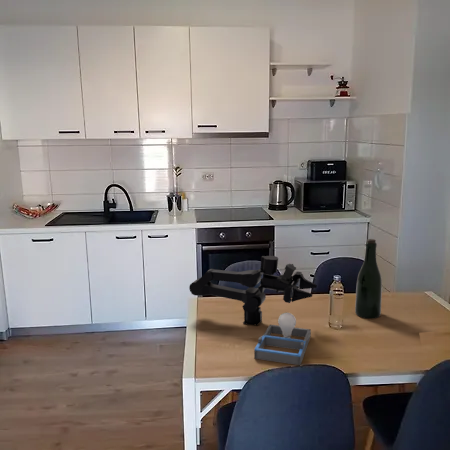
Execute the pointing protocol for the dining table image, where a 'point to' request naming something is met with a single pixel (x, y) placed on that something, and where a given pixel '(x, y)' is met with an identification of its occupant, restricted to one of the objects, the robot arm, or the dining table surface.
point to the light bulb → (287, 324)
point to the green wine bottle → (369, 285)
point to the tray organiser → (282, 345)
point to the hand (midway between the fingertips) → (314, 290)
